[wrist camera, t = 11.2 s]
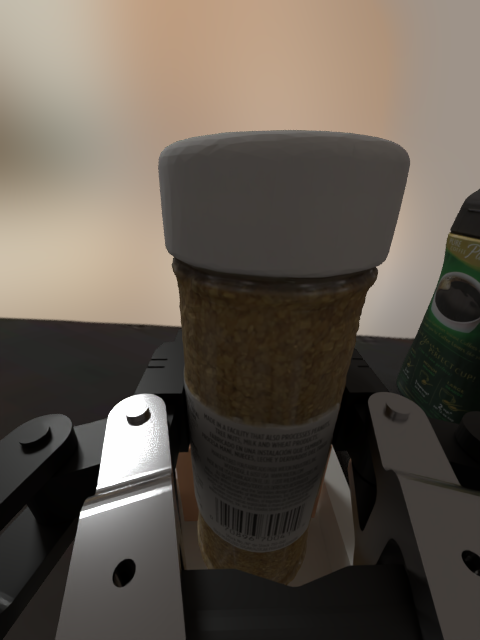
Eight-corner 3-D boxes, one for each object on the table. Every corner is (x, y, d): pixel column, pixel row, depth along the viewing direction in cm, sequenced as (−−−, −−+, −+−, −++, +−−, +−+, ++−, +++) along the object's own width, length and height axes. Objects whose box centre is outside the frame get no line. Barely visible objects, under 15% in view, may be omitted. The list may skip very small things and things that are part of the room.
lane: (405, 744, 9) (529, 681, 5) (111, 759, 9) (16, 704, 5) (286, 364, 29) (294, 293, 25) (194, 365, 29) (188, 293, 25)
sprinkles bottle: (311, 494, 12) (393, 159, 6) (296, 634, 8) (477, 99, 2) (221, 462, 13) (218, 161, 8) (172, 570, 10) (86, 126, 4)
